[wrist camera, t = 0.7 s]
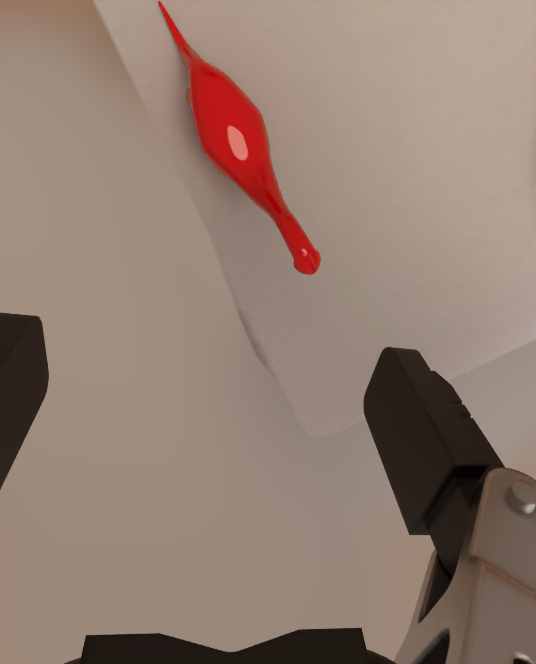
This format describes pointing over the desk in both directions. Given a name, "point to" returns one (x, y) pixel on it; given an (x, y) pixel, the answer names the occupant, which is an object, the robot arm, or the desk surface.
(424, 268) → the desk surface
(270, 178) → the dinosaur
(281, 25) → the desk surface
